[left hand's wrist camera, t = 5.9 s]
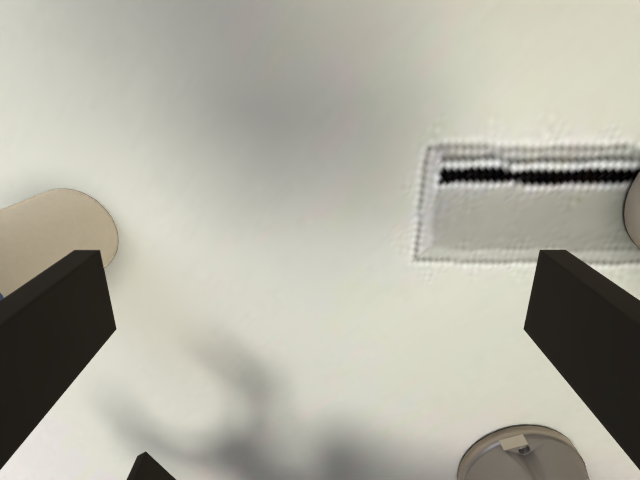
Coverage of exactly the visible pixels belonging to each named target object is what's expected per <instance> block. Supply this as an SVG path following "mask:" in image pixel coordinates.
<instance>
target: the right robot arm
mask: <svg viewBox="0 0 640 480" xmlns="http://www.w3.org/2000/svg"><path fill="white" fill-rule="evenodd" d="M127 480H176V479H175V478H174V477H173V476H171V475H170V474H169V473H168V472H167V471H166V470H165V469H164V468H163V467H162V466H161V465H160V464H159V463H158V462H156V461H155V460H154V459H153V458H152V457H151V456H150V455H149V454H148V453H147V452H144V453H142V454H140V455H139V456H137V458H136V461H135V463H134V465H133V467H132V469H131V472H130V474H129V476H128V478H127ZM458 480H589V477H588V474H587V470H586V466H585V463H584V461H583V459H582V457H581V456H580V454H579V453H578V452H577V450H576V449H575V447H574V446H573V444H572V443H571V442H570V441H569V440H568V439H567V438H566V437H565V436H563V435H562V434H560V433H558V432H556V431H554V430H551V429H548V428H545V427H539V426H517V427H511V428H507V429H503V430H500V431H497V432H495V433H492V434H490V435H488V436H486V437H485V438H483V439H482V440H480V441H479V442H477V443H476V444H475V445H474V446H473V447H472V448H471V449H470V450H469V451H468V452H467V453H466V455H465V456H464V458H463V459H462V461H461V463H460V466H459V470H458Z"/></svg>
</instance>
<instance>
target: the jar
mask: <svg viewBox="0 0 640 480" xmlns="http://www.w3.org/2000/svg"><path fill="white" fill-rule="evenodd" d="M117 246H118V235H117V230H116V226H115V224H114V222H113V220H112V218H111V216H110V215H109V213H108V212H107V211H106V210H105V209H104V207H103V206H102V205H100V204H99V203H98V202H97V201H96V200H94V199H93V198H91V197H89V196H88V195H86V194H83V193H81V192H78V191H75V190H70V189H53V190H49V191H46V192H44V193H41V194H39V195H36V196H34V197H31V198H29V199H26V200H24V201H21V202H19V203H16V204H14V205H11V206H9V207H6V208H4V209H1V210H0V293H1V294H2V295H3V297H4V298H5V297H6V296H8V295H9V294H11V293H12V292H14V291H15V290H16V289H18V288H19V287H21V286H22V285H24V284H25V283H27V282H28V281H30V280H31V279H33V278H34V277H36V276H37V275H38V274H40V273H41V272H43V271H44V270H46V269H47V268H49V267H50V266H52V265H53V264H55V263H56V262H57V261H59V260H60V259H62V258H63V257H65V256H66V255H68V254H69V253H71V252H72V251H74V250H100V252H101V257H102V262H103V266H104V268H105V267H106V266H107V265H108V264H109V263H110V262H111V261H112V259H113V258H114V256H115V254H116V251H117Z"/></svg>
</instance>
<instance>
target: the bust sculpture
mask: <svg viewBox="0 0 640 480" xmlns="http://www.w3.org/2000/svg"><path fill="white" fill-rule="evenodd" d="M624 217H625V224H626V228H627V231H628V234H629V235H630V237H631V239H632V240H633V242H634V243H635V244H636V245H637V246H638V247H639V248H640V172H639V174H638V175H637V177H636V178H635V180H634V182H633V183H632V185H631V188H630V190H629V193H628V195H627V199H626V203H625V211H624Z"/></svg>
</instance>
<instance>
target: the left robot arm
mask: <svg viewBox="0 0 640 480" xmlns="http://www.w3.org/2000/svg"><path fill="white" fill-rule="evenodd" d="M115 330H116V325H115V320H114V315H113V310H112V305H111V301H110V296H109V291H108V286H107V281H106V276H105V271H104V266H103V262H102V257H101V252H100V250H74V251H72V252H71V253H69V254H68V255H66V256H65V257H63V258H62V259H60V260H59V261H57V262H56V263H55V264H53V265H52V266H50V267H49V268H47V269H46V270H44V271H43V272H41V273H40V274H38V275H37V276H36V277H34V278H33V279H31V280H30V281H28V282H27V283H25V284H24V285H22V286H21V287H19V288H18V289H16V290H15V291H14V292H12V293H11V294H9V295H8V296H6V297H5V298H3V299H2V300H0V470H1V468H2V467H3V466H4V465H5V464H6V462H7V461H8V460H9V459H10V457H11V456H12V455H13V454H14V453H15V451H16V450H17V449H18V448H19V447H20V445H21V444H22V443H23V442H24V440H25V439H26V438H27V437H28V436H29V434H30V433H31V432H32V431H33V430H34V428H35V427H36V426H37V425H38V424H39V422H40V421H41V420H42V419H43V417H44V416H45V415H46V414H47V413H48V411H49V410H50V409H51V408H52V407H53V405H54V404H55V403H56V402H57V400H58V399H59V398H60V397H61V396H62V394H63V393H64V392H65V391H66V390H67V388H68V387H69V386H70V385H71V383H72V382H73V381H74V380H75V379H76V377H77V376H78V375H79V374H80V373H81V371H82V370H83V369H84V368H85V367H86V365H87V364H88V363H89V362H90V360H91V359H92V358H93V357H94V356H95V354H96V353H97V352H98V351H99V350H100V348H101V347H102V346H103V345H104V343H105V342H106V341H107V340H108V339H109V337H110V336H111V335H112V334H113V333H114V331H115ZM524 330H525V331H526V333H527V334H528V335H529V336H530V337H531V339H532V340H533V341H534V342H535V343H536V345H537V346H538V347H539V348H540V350H541V351H542V352H543V353H544V354H545V356H546V357H547V358H548V359H549V360H550V362H551V363H552V364H553V365H554V367H555V368H556V369H557V370H558V371H559V373H560V374H561V375H562V376H563V377H564V379H565V380H566V381H567V382H568V383H569V385H570V386H571V387H572V388H573V390H574V391H575V392H576V393H577V394H578V396H579V397H580V398H581V399H582V400H583V402H584V403H585V404H586V405H587V407H588V408H589V409H590V410H591V411H592V413H593V414H594V415H595V416H596V417H597V419H598V420H599V421H600V422H601V424H602V425H603V426H604V427H605V428H606V430H607V431H608V432H609V433H610V434H611V436H612V437H613V438H614V439H615V440H616V442H617V443H618V444H619V445H620V447H621V448H622V449H623V450H624V451H625V453H626V454H627V455H628V456H629V457H630V459H631V460H632V461H633V462H634V464H635V465H636V466H637V467H638V468H639V470H640V300H638V299H637V298H635V297H634V296H632V295H631V294H629V293H628V292H626V291H625V290H624V289H622V288H621V287H619V286H618V285H616V284H615V283H613V282H612V281H610V280H609V279H607V278H606V277H604V276H603V275H602V274H600V273H599V272H597V271H596V270H594V269H593V268H591V267H590V266H588V265H587V264H585V263H584V262H583V261H581V260H580V259H578V258H577V257H575V256H574V255H572V254H571V253H569V252H568V251H566V250H540V252H539V257H538V262H537V266H536V271H535V276H534V281H533V286H532V291H531V296H530V301H529V305H528V310H527V315H526V320H525V325H524Z"/></svg>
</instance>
